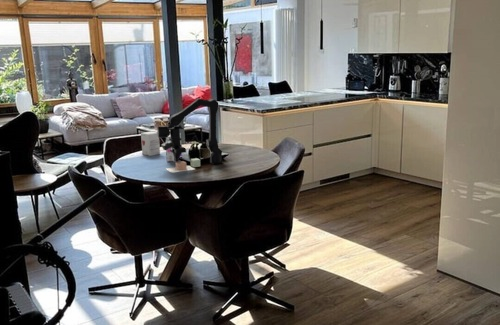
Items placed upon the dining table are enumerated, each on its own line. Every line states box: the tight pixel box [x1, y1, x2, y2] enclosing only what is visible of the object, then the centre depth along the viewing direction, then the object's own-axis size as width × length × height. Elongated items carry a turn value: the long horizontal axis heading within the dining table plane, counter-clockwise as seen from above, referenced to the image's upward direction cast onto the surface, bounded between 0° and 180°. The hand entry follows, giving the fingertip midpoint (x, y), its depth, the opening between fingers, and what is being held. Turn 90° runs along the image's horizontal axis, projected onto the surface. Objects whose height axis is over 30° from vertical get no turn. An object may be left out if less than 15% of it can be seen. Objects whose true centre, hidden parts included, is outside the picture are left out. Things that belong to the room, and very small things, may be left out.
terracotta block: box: [175, 160, 188, 170], centre depth 279 cm, size 5×5×4 cm
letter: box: [165, 165, 195, 174], centre depth 280 cm, size 15×11×1 cm
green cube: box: [190, 157, 201, 168], centre depth 286 cm, size 4×4×4 cm
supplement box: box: [140, 130, 161, 157], centre depth 322 cm, size 9×9×15 cm
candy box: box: [164, 132, 183, 163], centre depth 304 cm, size 14×6×16 cm, turn 169°
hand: (176, 161), depth 286 cm, fingers closed
